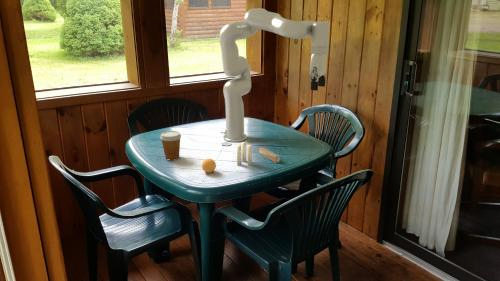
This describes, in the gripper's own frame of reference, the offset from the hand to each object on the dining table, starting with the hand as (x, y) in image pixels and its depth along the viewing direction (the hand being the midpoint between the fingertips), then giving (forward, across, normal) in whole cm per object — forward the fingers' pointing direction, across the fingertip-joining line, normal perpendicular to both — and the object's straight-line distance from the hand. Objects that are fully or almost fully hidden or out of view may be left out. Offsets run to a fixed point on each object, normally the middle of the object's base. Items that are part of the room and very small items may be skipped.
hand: (318, 88), depth 186 cm
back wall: (+31, +17, -16) cm, 39 cm away
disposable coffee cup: (+31, +38, -57) cm, 75 cm away
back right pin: (+31, +29, -20) cm, 47 cm away
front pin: (+31, +31, -24) cm, 50 cm away
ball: (+28, +44, -32) cm, 61 cm away
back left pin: (+31, +26, -25) cm, 48 cm away
